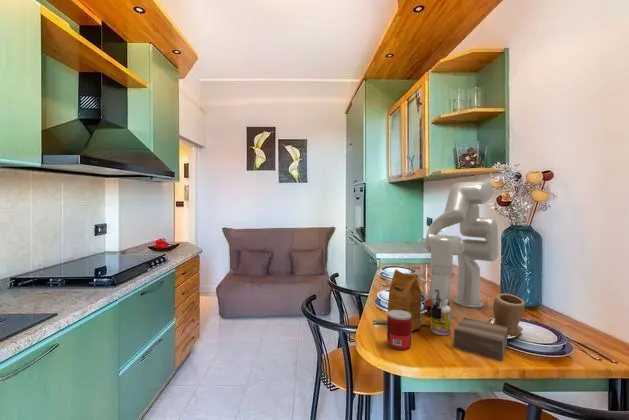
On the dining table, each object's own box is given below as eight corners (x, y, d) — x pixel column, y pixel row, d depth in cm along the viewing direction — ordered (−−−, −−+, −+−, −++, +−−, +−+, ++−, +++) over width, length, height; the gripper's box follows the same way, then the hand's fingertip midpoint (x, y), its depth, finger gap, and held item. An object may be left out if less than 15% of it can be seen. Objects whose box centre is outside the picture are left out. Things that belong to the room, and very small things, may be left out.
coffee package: (401, 318, 125) (401, 267, 124) (424, 329, 114) (425, 273, 113) (383, 323, 120) (383, 269, 119) (406, 335, 109) (406, 276, 108)
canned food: (415, 348, 99) (416, 316, 98) (394, 352, 96) (395, 319, 96) (402, 338, 106) (403, 308, 106) (383, 341, 104) (383, 310, 103)
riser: (463, 332, 111) (464, 317, 111) (507, 344, 102) (508, 327, 102) (454, 346, 100) (454, 329, 100) (502, 360, 91) (502, 341, 91)
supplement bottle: (428, 332, 111) (428, 298, 111) (434, 326, 116) (435, 294, 116) (446, 337, 107) (447, 302, 107) (452, 332, 112) (453, 298, 111)
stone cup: (517, 346, 101) (518, 303, 100) (480, 334, 110) (481, 294, 110) (532, 334, 110) (533, 295, 109) (497, 324, 119) (497, 287, 119)
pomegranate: (438, 324, 124) (449, 306, 129) (430, 312, 123) (441, 294, 127) (424, 320, 131) (434, 303, 135) (416, 308, 129) (427, 291, 133)
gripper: (437, 265, 120) (437, 306, 120) (423, 271, 107) (422, 318, 107) (457, 267, 115) (456, 311, 115) (445, 275, 102) (444, 324, 102)
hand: (440, 314), depth 111 cm, fingers open, 9 cm apart
